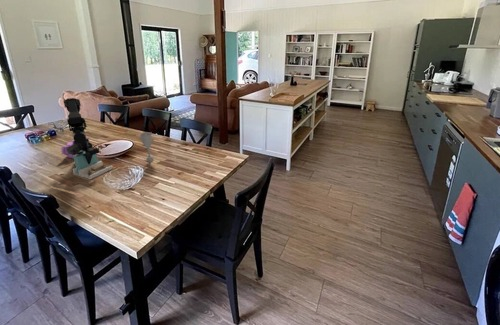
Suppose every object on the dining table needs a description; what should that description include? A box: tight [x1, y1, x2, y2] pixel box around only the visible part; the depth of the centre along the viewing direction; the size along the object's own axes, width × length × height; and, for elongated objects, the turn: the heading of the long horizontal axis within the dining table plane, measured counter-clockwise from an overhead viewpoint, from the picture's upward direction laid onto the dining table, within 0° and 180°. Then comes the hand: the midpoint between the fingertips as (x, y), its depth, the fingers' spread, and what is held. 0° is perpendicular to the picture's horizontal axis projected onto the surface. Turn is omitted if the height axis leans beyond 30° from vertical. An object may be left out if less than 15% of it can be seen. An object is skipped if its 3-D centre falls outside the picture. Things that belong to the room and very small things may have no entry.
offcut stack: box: [88, 164, 108, 176], centre depth 158 cm, size 5×10×4 cm, turn 157°
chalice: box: [139, 131, 155, 163], centre depth 174 cm, size 7×7×18 cm
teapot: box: [60, 136, 90, 160], centre depth 184 cm, size 13×20×11 cm, turn 151°
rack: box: [72, 160, 114, 180], centre depth 159 cm, size 14×15×4 cm
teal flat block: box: [72, 152, 99, 174], centre depth 159 cm, size 3×12×11 cm, turn 157°
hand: (87, 163), depth 159 cm, fingers closed on teal flat block, 3 cm apart
